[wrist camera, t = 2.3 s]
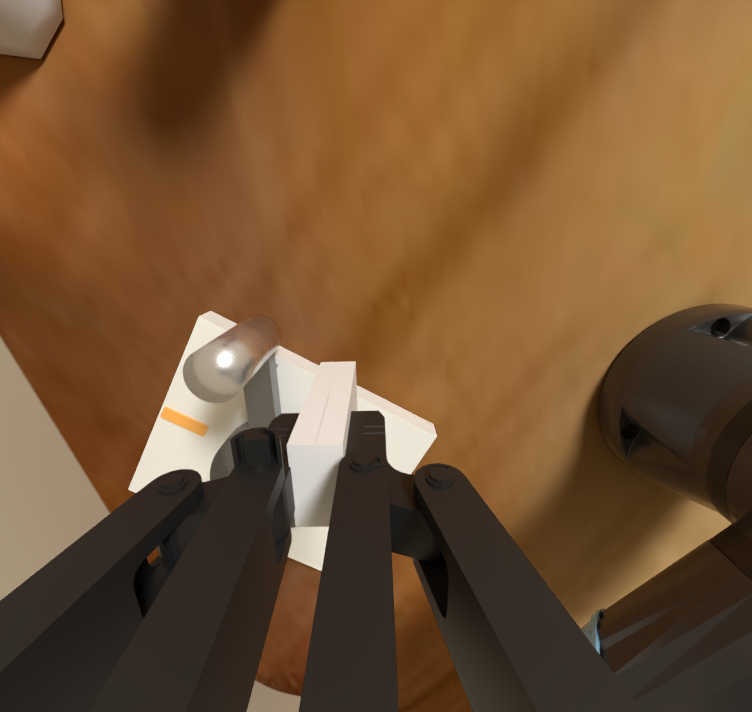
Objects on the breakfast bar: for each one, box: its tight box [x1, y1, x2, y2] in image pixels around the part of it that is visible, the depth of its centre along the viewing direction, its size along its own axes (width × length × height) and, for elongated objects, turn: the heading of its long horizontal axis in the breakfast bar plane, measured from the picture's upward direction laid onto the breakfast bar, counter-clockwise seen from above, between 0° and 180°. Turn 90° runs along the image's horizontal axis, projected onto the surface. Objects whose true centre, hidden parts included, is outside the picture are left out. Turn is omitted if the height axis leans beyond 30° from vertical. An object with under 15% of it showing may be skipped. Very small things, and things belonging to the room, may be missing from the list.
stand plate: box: [128, 311, 437, 571], centre depth 31 cm, size 20×17×2 cm
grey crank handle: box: [183, 315, 296, 528], centre depth 25 cm, size 17×9×8 cm, turn 1°
